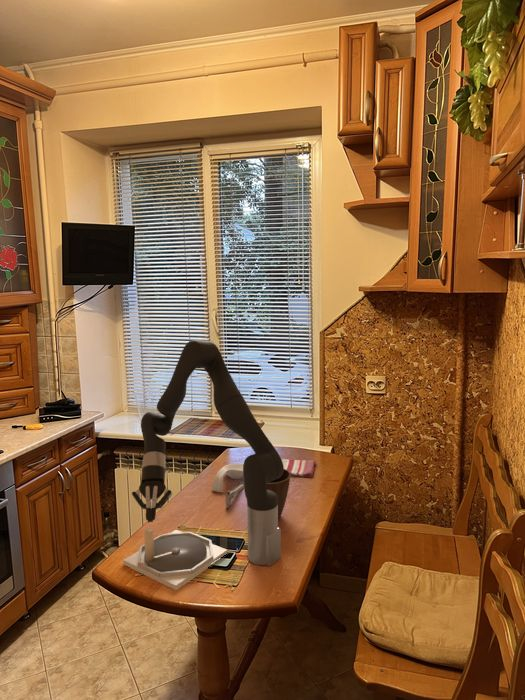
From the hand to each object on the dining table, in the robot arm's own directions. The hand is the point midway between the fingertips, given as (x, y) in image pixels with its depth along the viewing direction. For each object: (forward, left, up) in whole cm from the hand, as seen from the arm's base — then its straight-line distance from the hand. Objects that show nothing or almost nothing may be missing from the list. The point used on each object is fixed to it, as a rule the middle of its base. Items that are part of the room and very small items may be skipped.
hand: (150, 521), depth 160 cm
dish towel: (+2, -80, -11) cm, 81 cm away
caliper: (+3, -45, -11) cm, 47 cm away
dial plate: (-9, -1, -10) cm, 14 cm away
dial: (-9, -1, -8) cm, 13 cm away
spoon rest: (+14, -56, -11) cm, 59 cm away
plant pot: (-17, -39, -10) cm, 44 cm away
